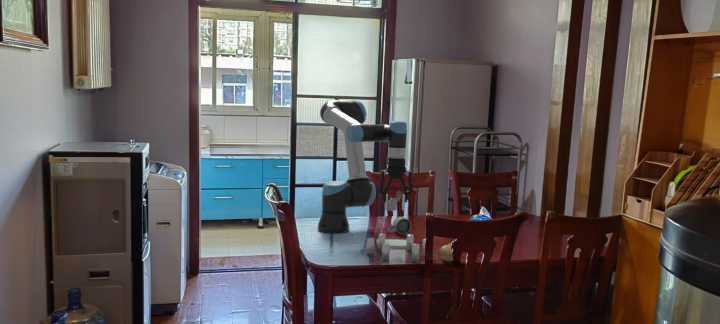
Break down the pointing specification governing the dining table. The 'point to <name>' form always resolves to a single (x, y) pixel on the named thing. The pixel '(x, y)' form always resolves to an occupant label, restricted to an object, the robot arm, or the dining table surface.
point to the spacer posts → (386, 246)
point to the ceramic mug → (400, 226)
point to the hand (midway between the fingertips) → (394, 209)
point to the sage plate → (395, 243)
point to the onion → (446, 253)
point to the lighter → (394, 202)
